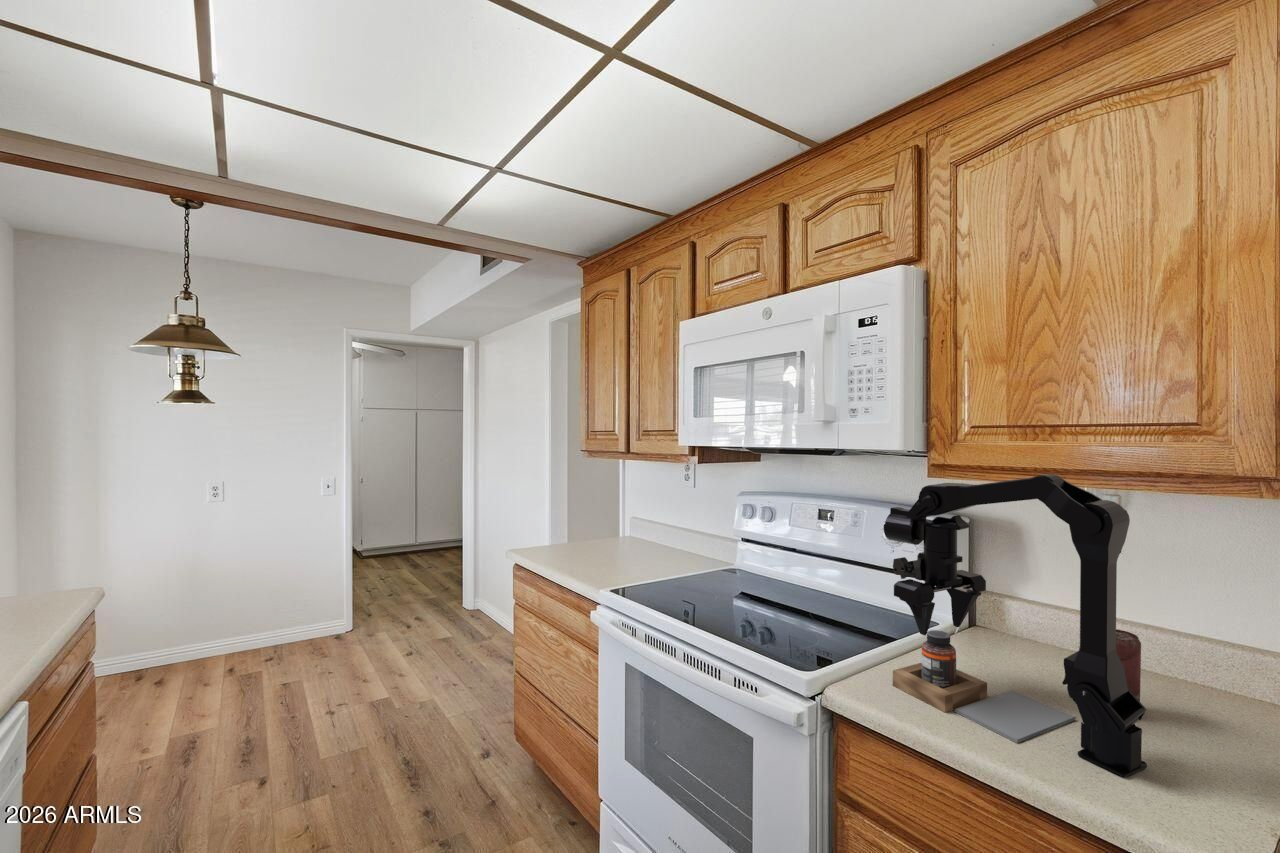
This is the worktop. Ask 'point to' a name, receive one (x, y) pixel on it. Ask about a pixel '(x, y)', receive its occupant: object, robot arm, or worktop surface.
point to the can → (1130, 659)
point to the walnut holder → (942, 699)
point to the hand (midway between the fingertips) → (940, 630)
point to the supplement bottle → (939, 659)
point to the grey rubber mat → (1015, 715)
